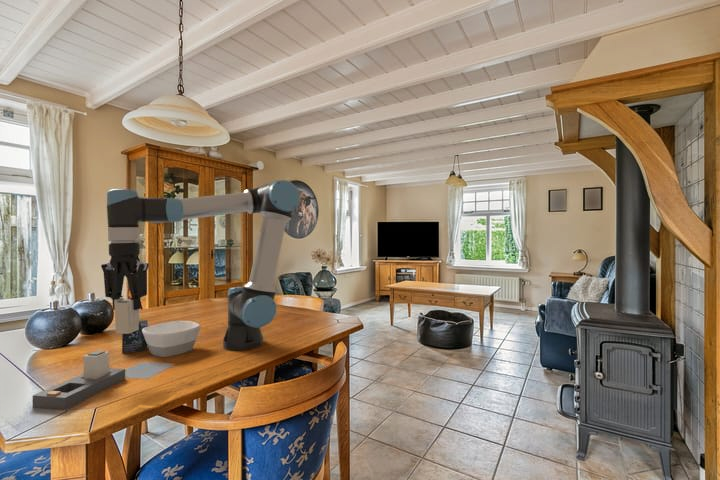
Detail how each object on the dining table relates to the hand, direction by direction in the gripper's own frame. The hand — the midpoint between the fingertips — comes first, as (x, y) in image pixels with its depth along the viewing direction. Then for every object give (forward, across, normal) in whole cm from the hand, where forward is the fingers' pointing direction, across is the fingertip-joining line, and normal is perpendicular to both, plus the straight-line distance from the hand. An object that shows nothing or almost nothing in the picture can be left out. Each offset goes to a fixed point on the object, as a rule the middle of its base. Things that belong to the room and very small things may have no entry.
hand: (127, 320), depth 101 cm
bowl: (+18, +3, -24) cm, 30 cm away
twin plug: (+3, 0, 0) cm, 3 cm away
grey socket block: (+17, +5, +10) cm, 21 cm away
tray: (+18, -1, -6) cm, 19 cm away
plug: (+17, +5, +6) cm, 19 cm away
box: (+18, +17, -23) cm, 34 cm away
